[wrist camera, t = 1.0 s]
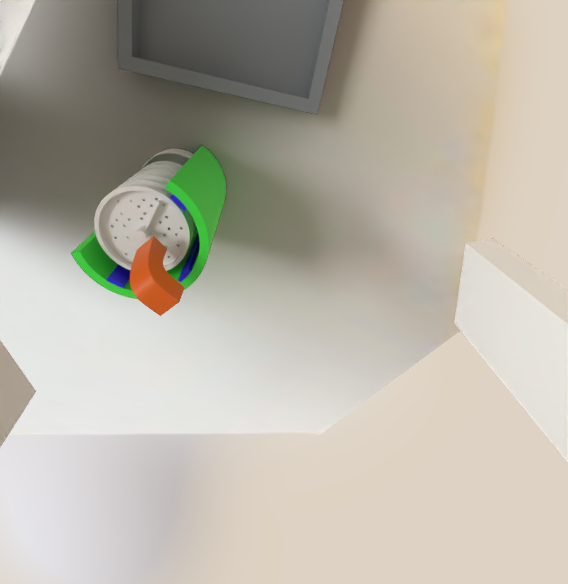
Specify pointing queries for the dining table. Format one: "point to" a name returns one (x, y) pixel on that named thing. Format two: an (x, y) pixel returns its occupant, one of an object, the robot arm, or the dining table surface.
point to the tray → (233, 46)
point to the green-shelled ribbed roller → (156, 228)
